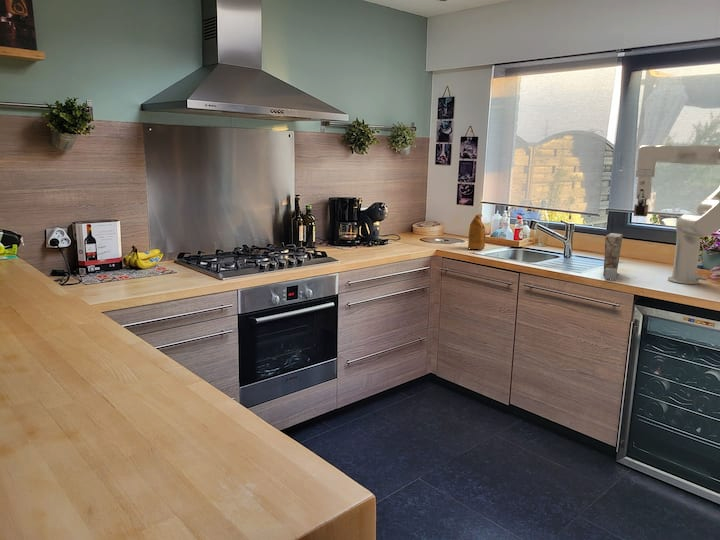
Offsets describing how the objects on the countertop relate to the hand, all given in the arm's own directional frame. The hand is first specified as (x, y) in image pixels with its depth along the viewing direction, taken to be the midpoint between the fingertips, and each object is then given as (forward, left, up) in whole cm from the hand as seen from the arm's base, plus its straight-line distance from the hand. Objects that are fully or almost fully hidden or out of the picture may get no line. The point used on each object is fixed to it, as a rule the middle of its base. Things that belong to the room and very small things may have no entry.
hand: (640, 214), depth 249 cm
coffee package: (+96, -46, -32) cm, 111 cm away
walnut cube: (0, 0, -1) cm, 1 cm away
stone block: (+12, -12, -32) cm, 36 cm away
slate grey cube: (+10, 0, -32) cm, 33 cm away
